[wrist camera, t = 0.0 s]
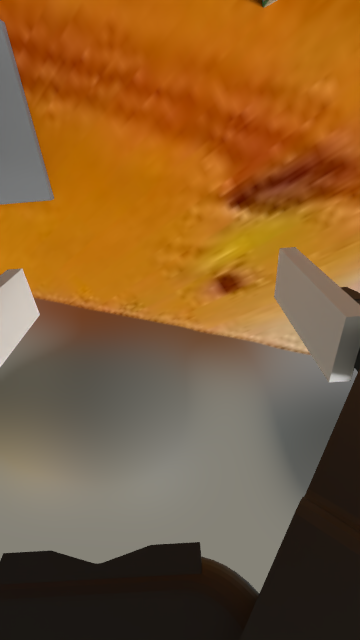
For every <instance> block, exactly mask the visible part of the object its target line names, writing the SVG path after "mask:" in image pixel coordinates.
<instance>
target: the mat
mask: <svg viewBox="0 0 360 640" xmlns="http://www.w3.org/2000/svg"><path fill="white" fill-rule="evenodd" d="M53 199H54V196H53V193H52V189H51V186H50V182H49V179H48V175H47V172H46V168H45V164H44V161H43V157H42V154H41V150H40V147H39V143H38V140H37V136H36V133H35V129H34V126H33V122H32V118H31V115H30V111H29V108H28V104H27V101H26V97H25V94H24V90H23V87H22V83H21V80H20V76H19V72H18V69H17V65H16V62H15V58H14V55H13V51H12V48H11V44H10V41H9V37H8V34H7V30H6V26H5V23H4V22H3V21H1V20H0V204H10V203H22V202H34V201H46V200H53Z"/></svg>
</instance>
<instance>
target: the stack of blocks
mask: <svg viewBox="0 0 360 640" xmlns="http://www.w3.org/2000/svg"><path fill="white" fill-rule="evenodd" d="M275 1H277V0H262V3H263V7H266V6H268V5H270V4H272V3H273V2H275Z"/></svg>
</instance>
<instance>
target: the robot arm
mask: <svg viewBox="0 0 360 640" xmlns="http://www.w3.org/2000/svg"><path fill="white" fill-rule="evenodd" d="M274 297H275V299H276V300H277V302H278V304H279V305H280V307H281V308H282V310H283V311H284V313H285V315H286V316H287V318H288V319H289V321H290V322H291V324H292V325H293V327H294V329H295V330H296V332H297V333H298V335H299V336H300V338H301V340H302V341H303V343H304V344H305V346H306V347H307V349H308V351H309V352H310V354H311V355H312V357H313V358H314V360H315V361H316V363H317V364H318V366H319V368H320V369H321V371H322V372H323V374H324V376H325V377H326V379H327V380H328V382H341V381H351V377H352V374H353V371H354V368H355V369H356V370H357V371H358V374H357V376H356V378H355V381H354V383H353V385H352V388H351V390H350V392H349V395H348V397H347V399H346V402H345V404H344V406H343V409H342V411H341V413H340V416H339V418H338V420H337V423H336V425H335V427H334V429H333V432H332V434H331V436H330V439H329V441H328V443H327V446H326V448H325V450H324V453H323V455H322V457H321V460H320V462H319V464H318V467H317V469H316V471H315V474H314V476H313V478H312V481H311V483H310V485H309V488H308V490H307V492H306V494H305V496H304V497H303V498H302V499H301V501H300V503H299V505H298V507H297V509H296V512H295V514H294V516H293V518H292V521H291V523H290V525H289V528H288V530H287V532H286V534H285V537H284V540H283V541H282V544H281V546H280V548H279V550H278V553H277V555H276V557H275V560H274V562H273V564H272V566H271V569H270V571H269V573H268V576H267V578H266V580H265V582H264V585H263V587H262V590H261V592H260V594H259V593H258V592H257V591H256V590H255V589H254V588H253V587H252V586H251V585H250V584H249V582H247V581H246V580H245V579H244V578H243V577H241V576H240V575H239V574H237V573H236V572H235V571H233V570H231V569H230V568H228V567H227V566H225V565H223V564H221V563H219V562H216V561H214V560H211V559H208V558H204V557H201V550H200V542H197V543H196V542H195V543H178V544H160V545H150V546H147V547H144V548H142V549H139V550H136V551H134V552H131V553H128V554H126V555H123V556H120V557H118V558H115V559H112V560H109V561H106V562H104V563H100V564H94V563H91V562H87V561H84V560H80V559H77V558H74V557H70V556H67V555H64V554H60V553H57V552H54V551H38V552H20V553H4V554H3V556H2V558H1V561H0V640H360V293H358V292H357V291H354V290H352V289H350V288H347V287H339V286H338V285H337V284H336V283H335V282H333V281H332V280H331V279H330V278H329V277H328V276H327V275H326V274H325V273H323V272H322V271H321V270H320V269H319V268H318V267H317V266H316V265H314V264H313V263H312V262H311V261H310V260H309V259H308V258H307V257H305V256H304V255H303V254H302V253H301V252H300V251H299V250H298V249H296V248H295V247H291V248H280V250H279V260H278V269H277V278H276V287H275V296H274ZM39 315H40V314H39V311H38V309H37V306H36V303H35V301H34V298H33V296H32V293H31V290H30V288H29V285H28V282H27V280H26V277H25V275H24V272H23V269H11V270H7V271H5V272H4V273H3V274H2V275H0V367H1V365H2V364H3V363H4V362H5V360H6V359H7V358H8V356H9V355H10V353H11V352H12V351H13V350H14V348H15V347H16V346H17V344H18V343H19V342H20V340H21V339H22V338H23V336H24V335H25V333H26V332H27V331H28V330H29V328H30V327H31V326H32V324H33V323H34V322H35V320H36V319H37V318H38V316H39ZM201 561H202V562H201Z"/></svg>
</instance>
